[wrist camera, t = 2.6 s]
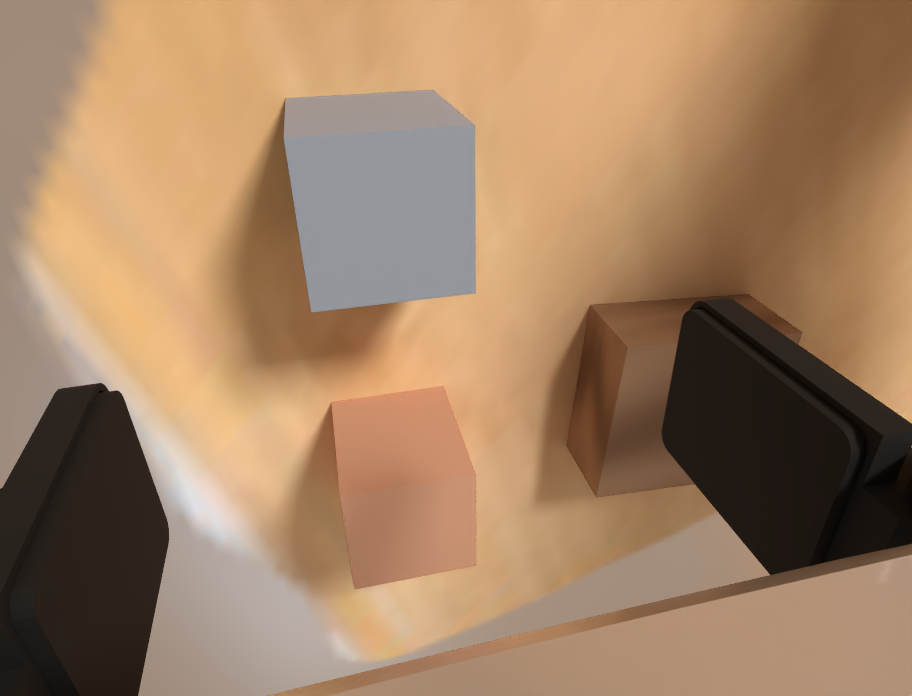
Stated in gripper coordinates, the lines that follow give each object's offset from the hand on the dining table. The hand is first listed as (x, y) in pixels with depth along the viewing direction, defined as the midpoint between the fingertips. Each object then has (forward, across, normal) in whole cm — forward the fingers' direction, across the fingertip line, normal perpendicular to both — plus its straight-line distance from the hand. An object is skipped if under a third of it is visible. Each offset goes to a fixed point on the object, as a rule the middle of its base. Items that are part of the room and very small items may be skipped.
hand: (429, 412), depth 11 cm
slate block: (+14, -1, 0) cm, 15 cm away
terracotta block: (+15, -1, +12) cm, 19 cm away
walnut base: (+15, -14, +10) cm, 23 cm away
